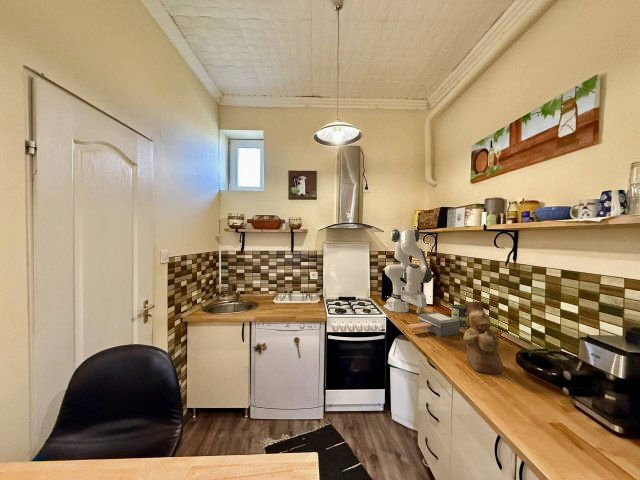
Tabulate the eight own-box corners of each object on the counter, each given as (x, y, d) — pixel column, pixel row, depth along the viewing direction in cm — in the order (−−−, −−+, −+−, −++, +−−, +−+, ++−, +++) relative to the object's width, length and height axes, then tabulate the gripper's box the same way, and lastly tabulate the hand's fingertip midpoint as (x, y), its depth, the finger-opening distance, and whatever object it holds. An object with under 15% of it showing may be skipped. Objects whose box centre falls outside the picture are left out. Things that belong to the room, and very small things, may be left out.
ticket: (407, 326, 163) (407, 324, 163) (431, 323, 170) (431, 321, 170) (413, 329, 158) (413, 327, 158) (437, 326, 165) (437, 324, 165)
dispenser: (417, 326, 174) (418, 314, 174) (436, 323, 180) (436, 311, 180) (439, 337, 156) (439, 323, 156) (459, 333, 162) (459, 320, 162)
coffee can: (468, 325, 177) (469, 306, 177) (466, 329, 169) (467, 309, 169) (452, 322, 183) (452, 303, 183) (449, 326, 175) (450, 306, 175)
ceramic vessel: (473, 373, 115) (474, 309, 114) (454, 351, 137) (455, 297, 136) (510, 376, 113) (512, 311, 112) (485, 354, 134) (486, 299, 134)
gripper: (429, 293, 152) (428, 315, 152) (407, 285, 171) (406, 305, 172) (421, 293, 150) (420, 316, 150) (399, 286, 169) (399, 306, 169)
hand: (412, 310), depth 161 cm, fingers open, 8 cm apart
